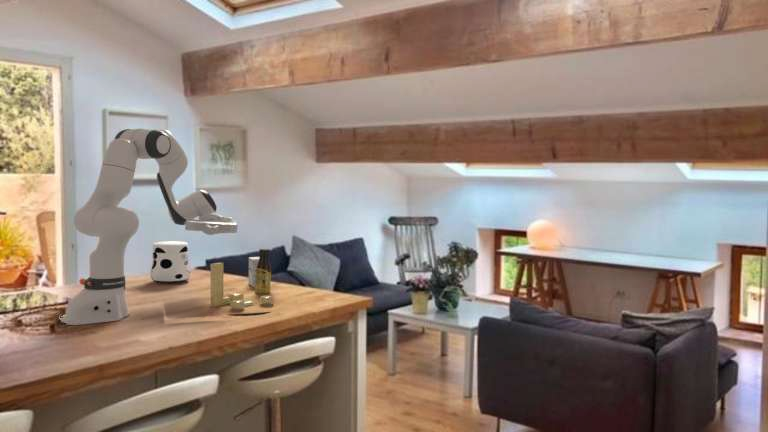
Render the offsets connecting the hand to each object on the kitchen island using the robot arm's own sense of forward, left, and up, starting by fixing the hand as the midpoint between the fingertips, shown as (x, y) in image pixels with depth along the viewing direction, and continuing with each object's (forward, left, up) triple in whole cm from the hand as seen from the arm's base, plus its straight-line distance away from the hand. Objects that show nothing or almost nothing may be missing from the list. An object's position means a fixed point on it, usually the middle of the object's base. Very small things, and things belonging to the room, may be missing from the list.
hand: (212, 229), depth 248 cm
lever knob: (0, -11, -28) cm, 30 cm away
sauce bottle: (+23, -2, -29) cm, 37 cm away
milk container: (+9, +51, -29) cm, 59 cm away
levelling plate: (+4, -19, -29) cm, 35 cm away
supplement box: (+35, +19, -29) cm, 49 cm away
